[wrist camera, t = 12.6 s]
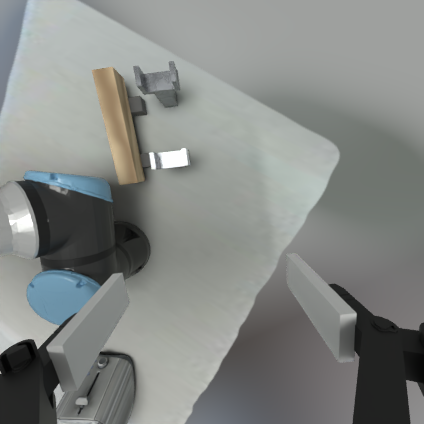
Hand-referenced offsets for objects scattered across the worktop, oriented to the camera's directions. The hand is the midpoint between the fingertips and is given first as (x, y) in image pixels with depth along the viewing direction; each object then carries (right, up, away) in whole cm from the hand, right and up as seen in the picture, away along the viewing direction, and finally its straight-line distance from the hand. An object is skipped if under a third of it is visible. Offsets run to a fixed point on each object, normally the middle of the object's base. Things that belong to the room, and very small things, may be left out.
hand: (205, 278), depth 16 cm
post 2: (-8, +18, +33) cm, 39 cm away
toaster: (-32, -51, +49) cm, 78 cm away
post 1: (-9, +31, +30) cm, 45 cm away
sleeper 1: (-19, +29, +31) cm, 47 cm away
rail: (-19, +23, +29) cm, 42 cm away
